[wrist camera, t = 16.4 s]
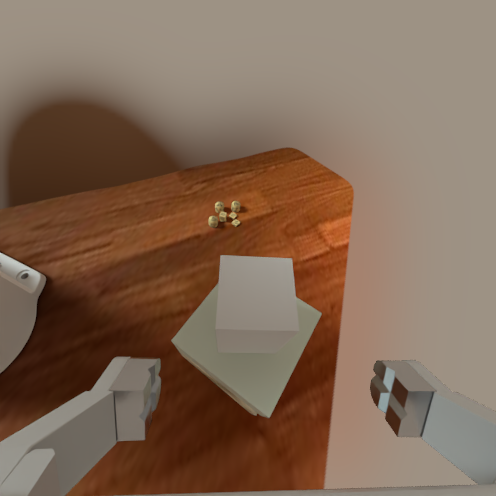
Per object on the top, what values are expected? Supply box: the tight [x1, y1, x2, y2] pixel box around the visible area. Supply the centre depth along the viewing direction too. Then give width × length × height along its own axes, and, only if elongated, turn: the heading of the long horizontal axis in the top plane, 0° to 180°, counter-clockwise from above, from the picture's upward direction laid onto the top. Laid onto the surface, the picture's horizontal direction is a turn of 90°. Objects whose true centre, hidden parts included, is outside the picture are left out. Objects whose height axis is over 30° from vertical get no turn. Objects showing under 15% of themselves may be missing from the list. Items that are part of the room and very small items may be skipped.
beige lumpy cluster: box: [209, 201, 240, 228], centre depth 41 cm, size 5×5×2 cm
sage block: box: [171, 283, 322, 418], centre depth 25 cm, size 10×10×5 cm
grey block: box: [215, 255, 299, 354], centre depth 19 cm, size 5×5×8 cm
